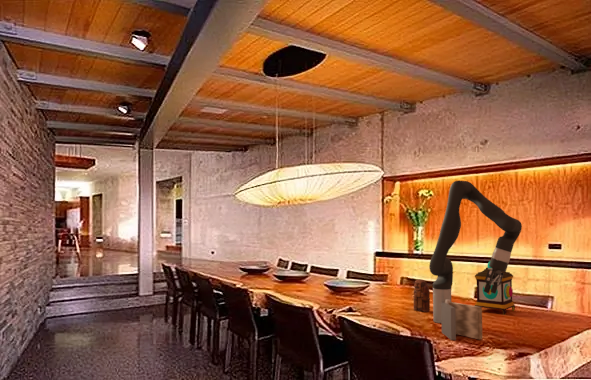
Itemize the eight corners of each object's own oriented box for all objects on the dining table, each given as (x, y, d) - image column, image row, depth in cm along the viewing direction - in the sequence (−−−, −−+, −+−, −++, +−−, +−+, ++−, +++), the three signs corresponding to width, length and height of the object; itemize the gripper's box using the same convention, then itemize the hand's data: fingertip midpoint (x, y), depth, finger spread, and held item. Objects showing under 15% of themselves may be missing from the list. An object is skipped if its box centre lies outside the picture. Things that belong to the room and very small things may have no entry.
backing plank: (440, 331, 226) (439, 299, 227) (450, 331, 226) (449, 299, 226) (451, 340, 209) (450, 305, 210) (462, 340, 209) (461, 305, 210)
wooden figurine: (409, 309, 281) (409, 278, 282) (417, 308, 284) (416, 278, 286) (425, 312, 271) (424, 281, 272) (432, 311, 275) (432, 280, 276)
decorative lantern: (518, 310, 277) (516, 259, 279) (507, 315, 263) (505, 261, 265) (483, 306, 291) (482, 257, 293) (471, 311, 276) (470, 259, 278)
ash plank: (449, 332, 222) (448, 302, 223) (452, 331, 223) (451, 301, 224) (479, 339, 209) (478, 307, 210) (482, 338, 210) (481, 307, 211)
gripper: (497, 257, 225) (487, 290, 226) (486, 255, 215) (475, 289, 215) (513, 263, 220) (502, 296, 221) (502, 260, 210) (491, 295, 210)
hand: (489, 292), depth 218 cm, fingers open, 8 cm apart
